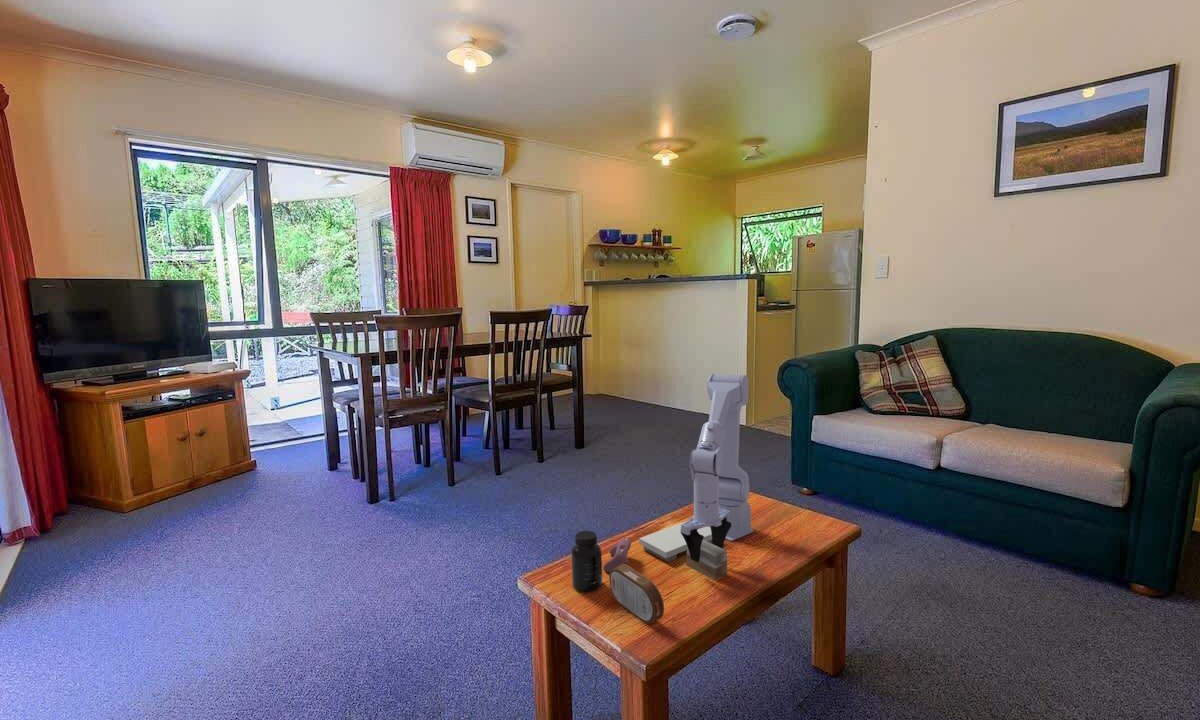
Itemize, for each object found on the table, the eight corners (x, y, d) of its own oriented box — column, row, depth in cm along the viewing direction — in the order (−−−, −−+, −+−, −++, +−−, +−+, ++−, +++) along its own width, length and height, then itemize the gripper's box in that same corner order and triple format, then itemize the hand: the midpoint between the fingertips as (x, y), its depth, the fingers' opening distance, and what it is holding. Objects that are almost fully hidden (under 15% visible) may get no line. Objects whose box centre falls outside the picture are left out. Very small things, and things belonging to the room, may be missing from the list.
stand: (691, 529, 146) (691, 519, 146) (718, 542, 138) (718, 531, 138) (639, 549, 135) (639, 538, 135) (666, 564, 127) (665, 552, 126)
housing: (698, 560, 128) (698, 537, 128) (727, 575, 121) (727, 550, 120) (686, 565, 126) (686, 542, 125) (715, 581, 119) (715, 556, 118)
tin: (665, 627, 102) (664, 586, 101) (653, 633, 100) (652, 591, 100) (618, 593, 114) (618, 557, 114) (607, 598, 113) (606, 561, 112)
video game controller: (618, 580, 123) (631, 556, 122) (601, 571, 123) (613, 546, 122) (624, 560, 132) (636, 537, 131) (608, 551, 133) (620, 528, 132)
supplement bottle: (567, 582, 119) (565, 532, 118) (593, 574, 123) (591, 525, 121) (580, 597, 113) (579, 544, 112) (608, 588, 117) (606, 536, 115)
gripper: (697, 512, 114) (697, 571, 116) (740, 497, 123) (740, 552, 124) (674, 503, 120) (674, 559, 121) (717, 489, 128) (717, 542, 130)
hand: (706, 555), depth 123 cm, fingers open, 7 cm apart
